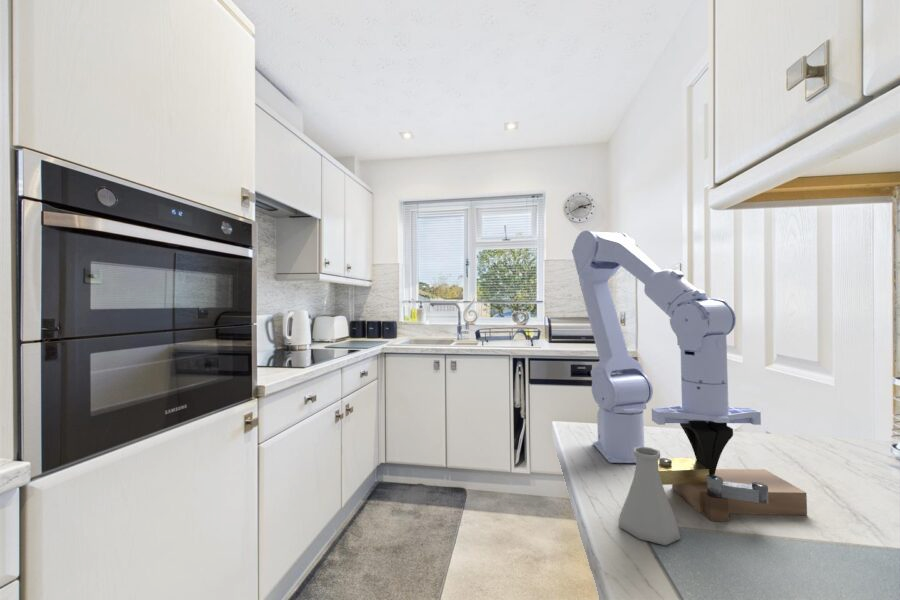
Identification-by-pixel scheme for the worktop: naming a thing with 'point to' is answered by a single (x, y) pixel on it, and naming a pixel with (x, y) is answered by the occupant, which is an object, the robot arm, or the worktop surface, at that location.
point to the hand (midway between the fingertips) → (706, 471)
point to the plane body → (780, 499)
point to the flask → (648, 502)
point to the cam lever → (737, 490)
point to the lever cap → (681, 471)
